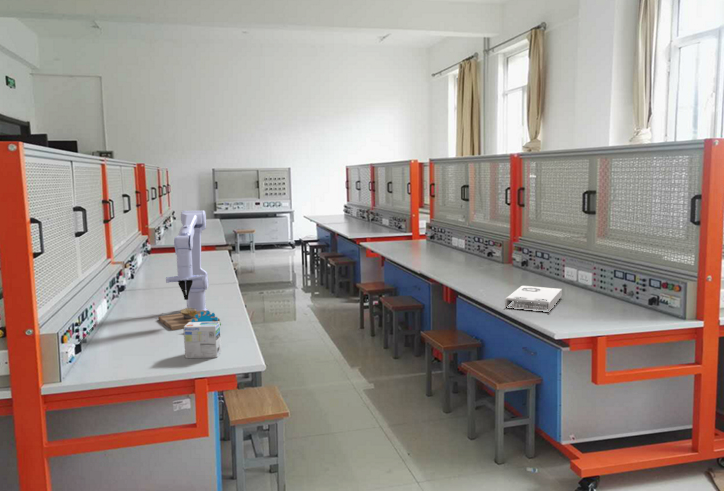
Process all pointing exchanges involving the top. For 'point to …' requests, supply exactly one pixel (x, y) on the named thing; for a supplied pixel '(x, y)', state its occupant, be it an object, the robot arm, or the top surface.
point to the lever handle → (189, 311)
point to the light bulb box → (202, 339)
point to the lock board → (180, 320)
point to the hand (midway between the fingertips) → (186, 299)
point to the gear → (205, 317)
